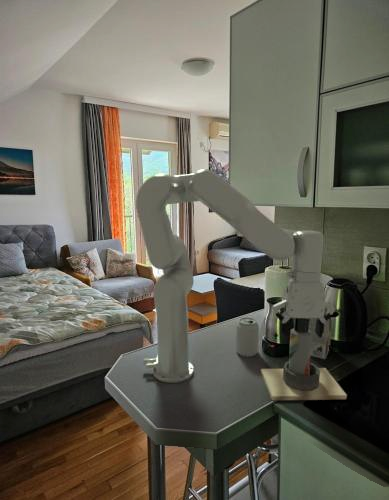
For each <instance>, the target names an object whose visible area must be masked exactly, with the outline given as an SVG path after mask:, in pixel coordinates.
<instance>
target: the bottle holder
mask: <svg viewBox="0 0 389 500" xmlns="http://www.w3.org/2000/svg"><path fill="white" fill-rule="evenodd" d="M260 374H261V377H262V379H263V382H264V383H265V386H266V389H267V391H268V394H269V396H270V398H271V400H272V401H318V400H319V401H320V400H322V401H325V400H327V401H328V400H329V401H331V400H347V397H348V394H347V393H346V392H345V391H344V389H343V388H342V387H341V386H340V384H339V383H338V382H337V381H336V379H335V378H334V377H333V376H332V375H331V373H330V372H329V371H328V370H327V368H326V367H318V366H317V365H316V364H315V363H312V362H310V374H309V376H301V375H297V374H294V373H292V372H291V371H289V360H288V361H285V363H284V365H283V367H282V368H260Z"/></svg>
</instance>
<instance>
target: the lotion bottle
mask: <svg viewBox="0 0 389 500" xmlns="http://www.w3.org/2000/svg"><path fill="white" fill-rule="evenodd" d="M293 319H294V322H293V328H291V329H290V333H289V334H290V335H289V352H288V353H289V355H288V357H289V359H288V361H289V371H291V372H292V373H294V374H297V375H301V376H309V374H310V363H311V357H312V356H311V338H312V333H311V331H309V319H297V318H293Z"/></svg>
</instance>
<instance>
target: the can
mask: <svg viewBox="0 0 389 500" xmlns="http://www.w3.org/2000/svg"><path fill="white" fill-rule="evenodd" d="M259 328H260V327H259V324H258V321H257V319H256V318H253V317H249V316H248V317H247V316H246V317H240V318H239V319H238V320H237V322H236V333H235V334H236V336H235V337H236V340H235V343H236V344H235V346H236V349H235V350H236V352H237V353H238V355H240V356H242V357H247V358H251V357H255V355H257V354H258V352H259V330H260V329H259Z"/></svg>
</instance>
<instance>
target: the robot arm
mask: <svg viewBox="0 0 389 500" xmlns="http://www.w3.org/2000/svg"><path fill="white" fill-rule="evenodd" d="M193 202H195V203H196V202H200V203H201V204H203V205H204V206H206V207H207V208H208V209H209V210H211V211H212V212H214V213H215V214H216V215H217V216H218V217H220V218H221V219H222V220H224V221H225V222H226V223H227V224H228V225H229V226H230V227H231V228H233V230H235V231H236V232H238V233H239V234H240V235H242V236H243V237H244V239H246V240H247V241H249V243H251V244H252V245H253V246H255V247H256V248H257V249H259V250H260V251H261V252H262V253H264V254H265V255H266V256H268V258H270V259H272V260H274V261H279V262H280V261H285V260H288V259H290V258H291V257H292V261H291V262H292V265H291V269H290V271H286V273H285V275H286V277H289V279H288V282H287V284H286V285H287V286H286V290H285V294H284V300H282V301H279V302H277V303H275V304H273V305H272V306H271V309H272V311H273V313H274V315H275V316H276V318H277V319H278V320H279V321H280V326H279V327H280V328H279V329H280V333H281V334H282V335H283V338H287V337H288V331H289V330H288V329H289V323H288V322H289V320H290V319H295V318H297V319H318V320H317V321H316V328H315V333H316V334H317V335H318V337H322V333H324V324H325V323H326V321H327V320H328V319H329V318H331V315H332V316H333V314H334V313H335V311H336V307H334V306H333V305H331V304H329V303H327V302H326V300H325V299H326V295H325V285H324V282H323V281H322V280H321V276H322V275H321V274H322V264H323V263H322V262H323V252H324V238H325V237H324V234H323V233H322V232H321V231H317V230H303V229H302V230H294V229H293V230H292V229H286V228H281V227H280V226H279V225H277V224H276V223H274V221H272V220H271V219H270V218H268V217H267V216H266V215H265V214H263V213H262V212H261V211H260V210H259V209H258V208H257V207H256V206H255V204H254V203H253V202H252V201H251V200H250V199H248V198H247V197H246V196H245V195H244V194H242V192H239V191H238V190H237V189H236V188H234V187H233V186H232V185H230V184H229V183H228V182H226V181H225V180H224V179H222V178H221V176H219V174H217V173H216V172H215V171H212V170H210V169H205V168H203V169H200V170H199V169H198V171H195V172H194V173H189V174H178V175H171V174H167V173H157V174H154V175H152V176H150V177H148V179H146V180H145V181H144V182H143V183H142V185H140V188H139V189H138V191H137V195H136V199H135V206H136V207H135V208H136V213H137V216H138V219H139V220H138V221H139V224H140V227H141V228H140V229H141V232H142V236H143V240H144V245H145V248H146V252H147V257H148V259H149V262H150V264H151V265H152V267H154V268H155V269H157V270H162V273H163V274H162V275H161V276H160V277H159V278H158V279H157V281H156V282H155V285H154V289H153V299H154V305H155V311H156V312H155V313H156V315H155V316H156V334H157V335H156V341H157V343H156V345H157V356H156V357H154V358H143V366H146V369H152V374H153V377H154V378H155V379H156V380H159V381H160V382H163V383H167V384H168V383H169V384H173V383H174V384H175V383H181V382H185V381H186V380H189V379H190V378H191V377H192V376H193V375H194V372H195V371H194V370H195V369H194V365H193V364H192V363H191V362H189V360H190V359H189V356H190V353H189V345H190V344H189V343H190V342H189V310H188V301H187V299H188V298H187V296H188V295H189V293H190V292H191V290H192V288H193V285H194V282H195V281H194V274H193V270H192V266H191V265H192V264H191V263H190V258H189V253H188V250H187V247H186V244H185V242H184V240H183V239H182V238H181V237H180V236H179V235H177V234H175V233H173V230H172V224H171V221H170V217H169V215H168V213H167V205H173V204H174V205H175V204H182V203H193ZM282 308H283V313H280V311H279V310H280V309H282ZM325 308H327V309H328V310H327V312H325Z"/></svg>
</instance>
